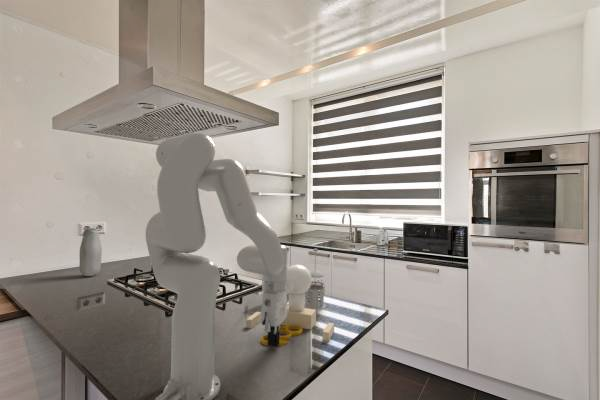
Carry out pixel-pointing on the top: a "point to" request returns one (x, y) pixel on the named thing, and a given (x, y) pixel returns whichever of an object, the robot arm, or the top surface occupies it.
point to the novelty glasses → (284, 330)
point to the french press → (315, 291)
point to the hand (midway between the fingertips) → (273, 344)
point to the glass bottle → (90, 252)
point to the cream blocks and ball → (297, 303)
